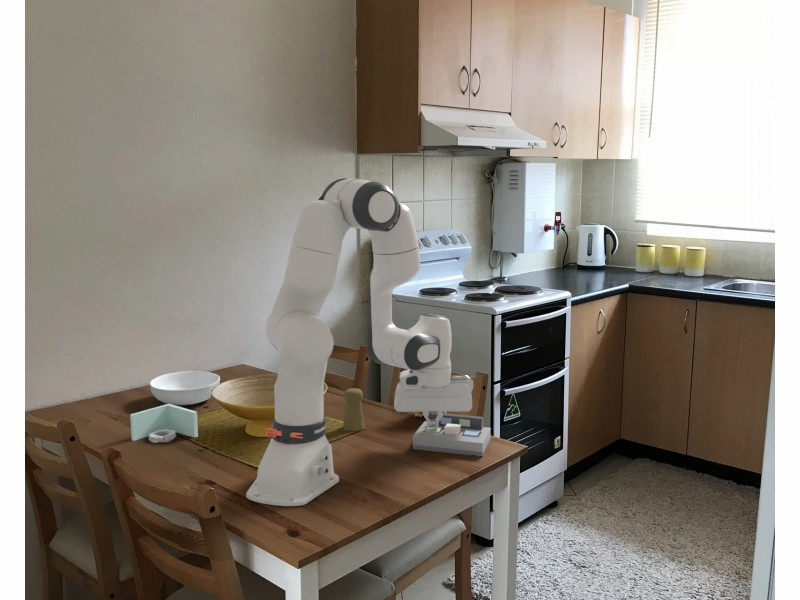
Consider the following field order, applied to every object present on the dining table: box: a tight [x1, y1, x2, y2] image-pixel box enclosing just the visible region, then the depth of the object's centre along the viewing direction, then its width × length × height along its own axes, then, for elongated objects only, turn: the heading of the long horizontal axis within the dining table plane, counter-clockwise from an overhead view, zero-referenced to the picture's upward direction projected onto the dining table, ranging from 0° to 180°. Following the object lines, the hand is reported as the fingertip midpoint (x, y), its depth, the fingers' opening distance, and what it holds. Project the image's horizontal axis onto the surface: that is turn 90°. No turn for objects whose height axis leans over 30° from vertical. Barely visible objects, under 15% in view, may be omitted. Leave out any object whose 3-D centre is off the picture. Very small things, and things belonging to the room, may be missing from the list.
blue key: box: [463, 430, 480, 437], centre depth 188 cm, size 4×4×2 cm
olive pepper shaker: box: [342, 387, 365, 432], centre depth 201 cm, size 6×6×11 cm
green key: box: [425, 427, 442, 433], centre depth 190 cm, size 4×4×2 cm
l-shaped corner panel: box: [129, 403, 199, 444], centre depth 192 cm, size 12×12×8 cm
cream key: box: [444, 423, 461, 435], centre depth 189 cm, size 4×4×2 cm
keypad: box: [412, 412, 492, 457], centre depth 189 cm, size 12×18×6 cm, turn 74°
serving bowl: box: [149, 370, 221, 406], centre depth 225 cm, size 21×21×7 cm
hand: (432, 427), depth 190 cm, fingers closed
